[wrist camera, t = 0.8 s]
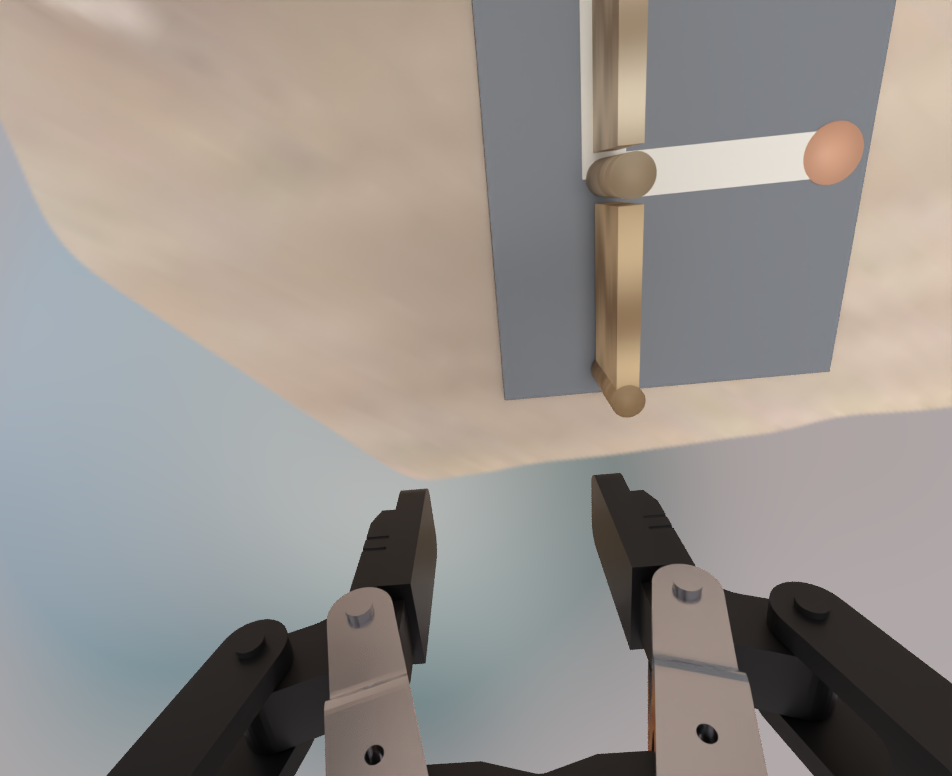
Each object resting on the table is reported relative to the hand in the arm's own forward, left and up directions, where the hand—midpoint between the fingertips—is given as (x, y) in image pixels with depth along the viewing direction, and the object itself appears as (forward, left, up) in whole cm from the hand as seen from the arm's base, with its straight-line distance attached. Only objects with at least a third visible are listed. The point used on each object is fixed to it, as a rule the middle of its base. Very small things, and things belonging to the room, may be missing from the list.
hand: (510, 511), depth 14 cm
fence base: (-14, +7, -19) cm, 24 cm away
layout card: (-8, +11, -19) cm, 24 cm away
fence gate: (-1, +7, -19) cm, 20 cm away
